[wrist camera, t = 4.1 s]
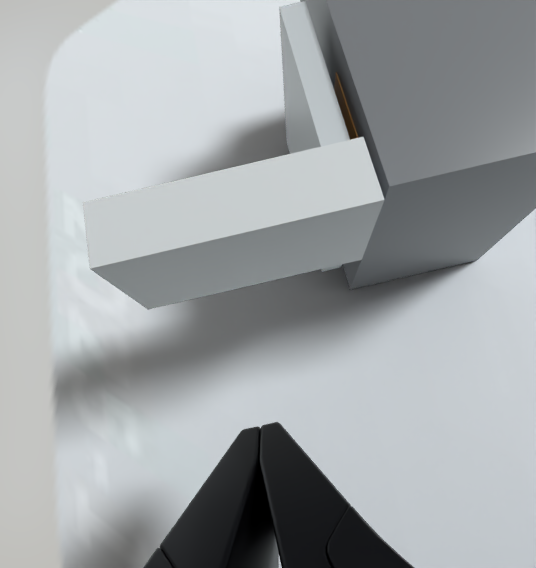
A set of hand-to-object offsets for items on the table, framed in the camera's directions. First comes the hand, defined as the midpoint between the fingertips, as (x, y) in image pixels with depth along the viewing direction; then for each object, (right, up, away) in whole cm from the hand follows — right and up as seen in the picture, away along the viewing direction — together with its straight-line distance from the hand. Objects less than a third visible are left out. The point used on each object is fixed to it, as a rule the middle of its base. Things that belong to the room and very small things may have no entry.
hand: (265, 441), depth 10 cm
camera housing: (+5, +7, +9) cm, 12 cm away
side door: (-1, +5, +7) cm, 9 cm away
